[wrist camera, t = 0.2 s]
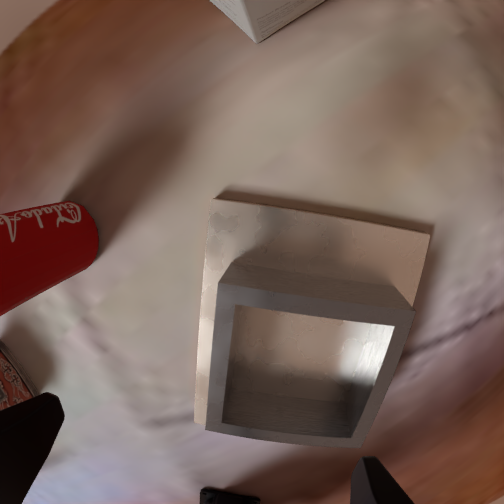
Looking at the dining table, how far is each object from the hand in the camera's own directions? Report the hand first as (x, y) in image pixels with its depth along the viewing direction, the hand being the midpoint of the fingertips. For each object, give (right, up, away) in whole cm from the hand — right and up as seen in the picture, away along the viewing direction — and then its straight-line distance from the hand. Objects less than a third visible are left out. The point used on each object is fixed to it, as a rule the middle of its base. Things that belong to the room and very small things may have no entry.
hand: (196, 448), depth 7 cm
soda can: (-12, +7, +15) cm, 20 cm away
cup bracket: (+5, -1, +15) cm, 15 cm away
